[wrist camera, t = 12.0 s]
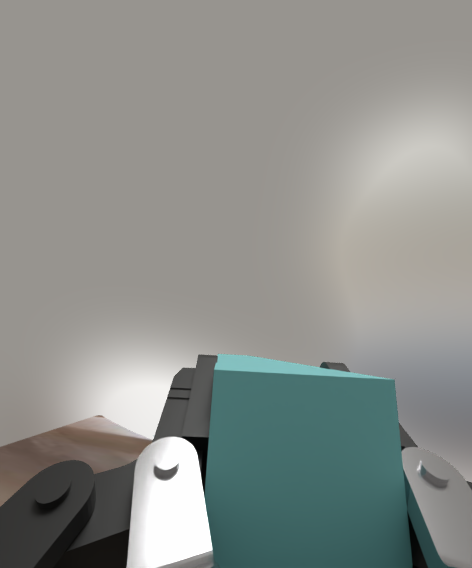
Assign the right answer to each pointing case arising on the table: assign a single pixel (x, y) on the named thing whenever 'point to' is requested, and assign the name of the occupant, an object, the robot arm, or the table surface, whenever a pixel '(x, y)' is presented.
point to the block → (304, 468)
